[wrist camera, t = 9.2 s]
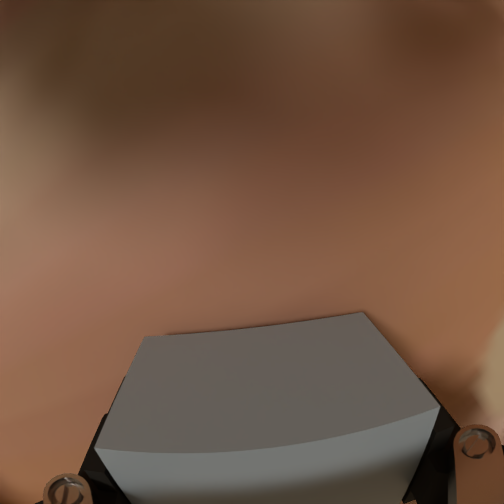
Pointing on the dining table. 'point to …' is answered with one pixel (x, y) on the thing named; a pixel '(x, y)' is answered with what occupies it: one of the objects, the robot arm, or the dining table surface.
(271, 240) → the dining table surface
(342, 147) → the dining table surface
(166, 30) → the dining table surface
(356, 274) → the dining table surface
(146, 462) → the grey rectangular block
